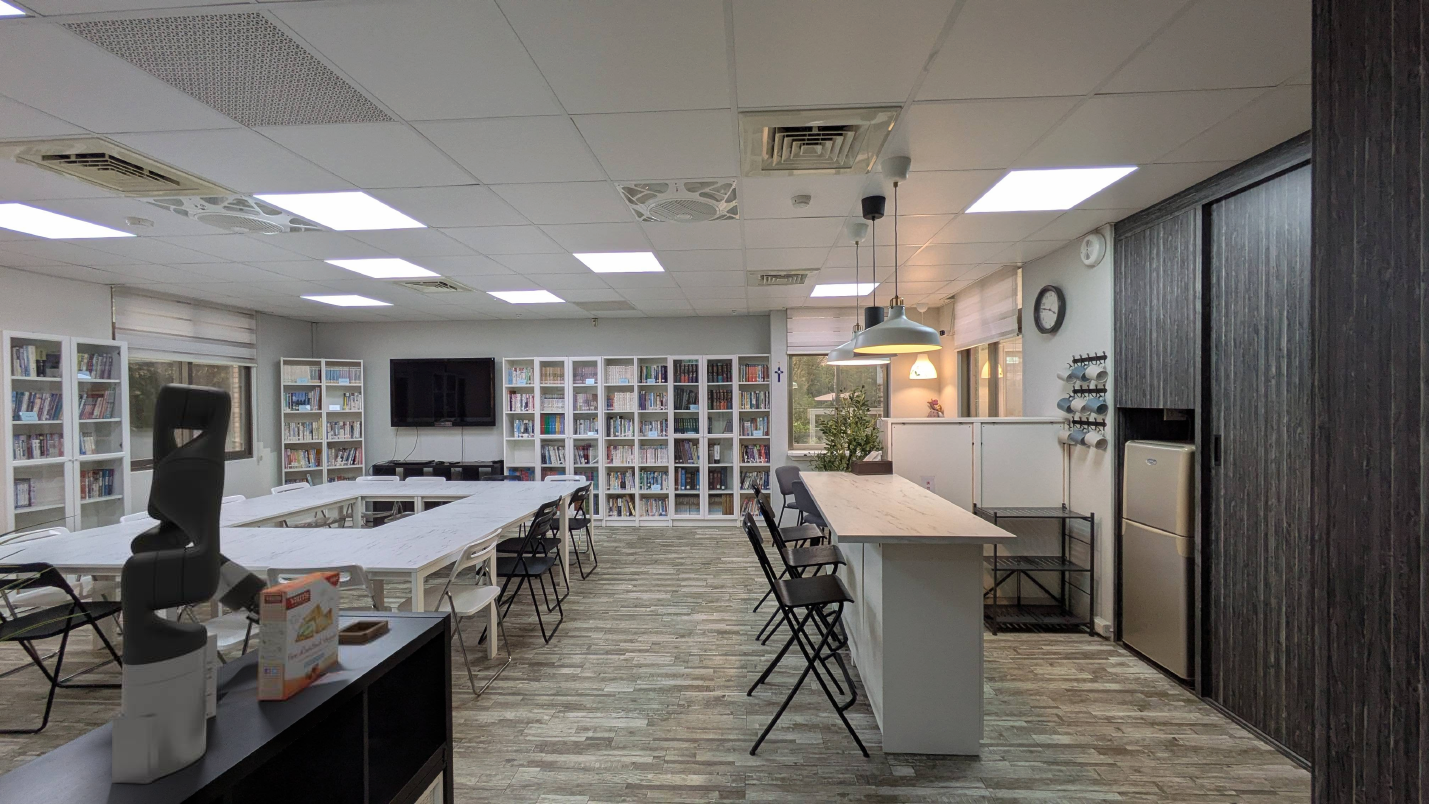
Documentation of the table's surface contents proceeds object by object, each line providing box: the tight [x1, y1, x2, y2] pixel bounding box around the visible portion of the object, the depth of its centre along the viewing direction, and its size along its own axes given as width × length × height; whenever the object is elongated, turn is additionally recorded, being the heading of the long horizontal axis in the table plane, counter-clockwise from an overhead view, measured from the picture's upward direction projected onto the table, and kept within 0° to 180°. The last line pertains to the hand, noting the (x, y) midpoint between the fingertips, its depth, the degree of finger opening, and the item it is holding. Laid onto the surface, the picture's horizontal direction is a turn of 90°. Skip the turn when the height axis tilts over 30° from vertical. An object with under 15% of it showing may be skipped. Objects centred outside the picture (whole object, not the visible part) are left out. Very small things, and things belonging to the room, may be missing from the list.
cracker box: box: [256, 571, 341, 701], centre depth 106 cm, size 14×6×21 cm, turn 179°
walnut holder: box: [338, 619, 393, 645], centre depth 126 cm, size 10×10×4 cm
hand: (299, 629), depth 121 cm, fingers closed on terracotta jug, 4 cm apart
